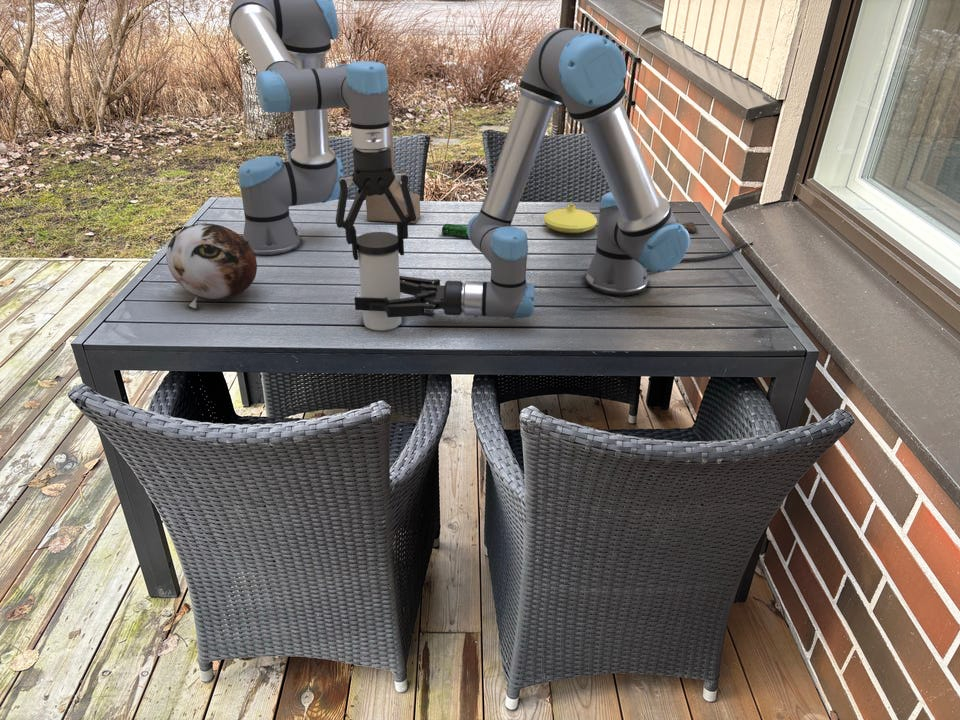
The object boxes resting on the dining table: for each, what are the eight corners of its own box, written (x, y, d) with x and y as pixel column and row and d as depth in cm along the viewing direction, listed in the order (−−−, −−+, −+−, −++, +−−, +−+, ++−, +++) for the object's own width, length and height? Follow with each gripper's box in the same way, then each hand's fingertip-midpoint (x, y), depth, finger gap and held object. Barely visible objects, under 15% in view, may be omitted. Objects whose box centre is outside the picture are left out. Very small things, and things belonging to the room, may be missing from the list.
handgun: (511, 219, 210) (493, 234, 198) (511, 228, 211) (492, 244, 199) (461, 212, 215) (440, 226, 203) (461, 221, 217) (440, 236, 204)
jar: (360, 315, 162) (354, 237, 152) (397, 311, 164) (393, 233, 154) (367, 332, 155) (361, 252, 145) (405, 327, 157) (401, 248, 147)
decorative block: (415, 224, 212) (412, 120, 197) (366, 221, 214) (359, 117, 199) (420, 215, 219) (417, 114, 203) (373, 212, 220) (366, 112, 205)
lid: (368, 258, 145) (368, 251, 144) (348, 244, 151) (347, 237, 150) (407, 249, 149) (407, 241, 148) (386, 235, 156) (385, 228, 155)
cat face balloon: (130, 285, 161) (164, 203, 163) (192, 308, 177) (221, 233, 178) (195, 307, 151) (229, 220, 152) (254, 330, 166) (285, 250, 168)
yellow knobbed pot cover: (559, 216, 220) (561, 193, 217) (605, 227, 212) (608, 204, 209) (532, 230, 209) (533, 207, 206) (580, 242, 201) (582, 218, 198)
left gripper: (317, 156, 134) (328, 267, 145) (430, 149, 139) (432, 256, 151) (313, 146, 140) (324, 253, 151) (421, 139, 146) (424, 244, 157)
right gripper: (458, 337, 148) (350, 332, 149) (466, 293, 166) (370, 289, 167) (458, 304, 144) (347, 300, 145) (466, 263, 162) (368, 259, 163)
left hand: (378, 255), depth 151 cm, fingers closed on lid, 9 cm apart
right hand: (359, 294), depth 156 cm, fingers closed on jar, 8 cm apart
